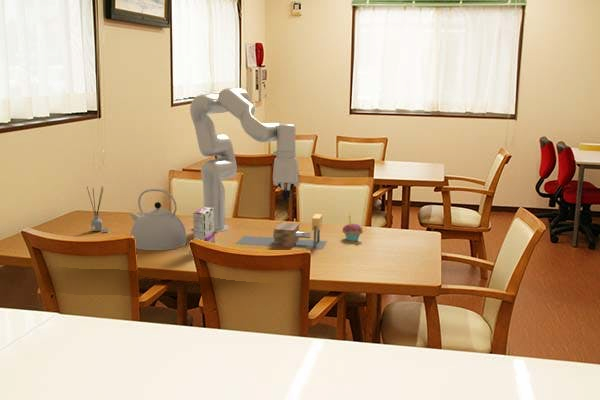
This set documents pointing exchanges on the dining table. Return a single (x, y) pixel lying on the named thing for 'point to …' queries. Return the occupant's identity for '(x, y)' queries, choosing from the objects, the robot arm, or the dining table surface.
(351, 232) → the cupcake
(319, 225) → the beige small block
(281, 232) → the hitch block
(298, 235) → the pin
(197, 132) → the robot arm
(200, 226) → the candy bar box
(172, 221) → the kettle
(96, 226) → the reed diffuser
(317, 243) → the base mat
